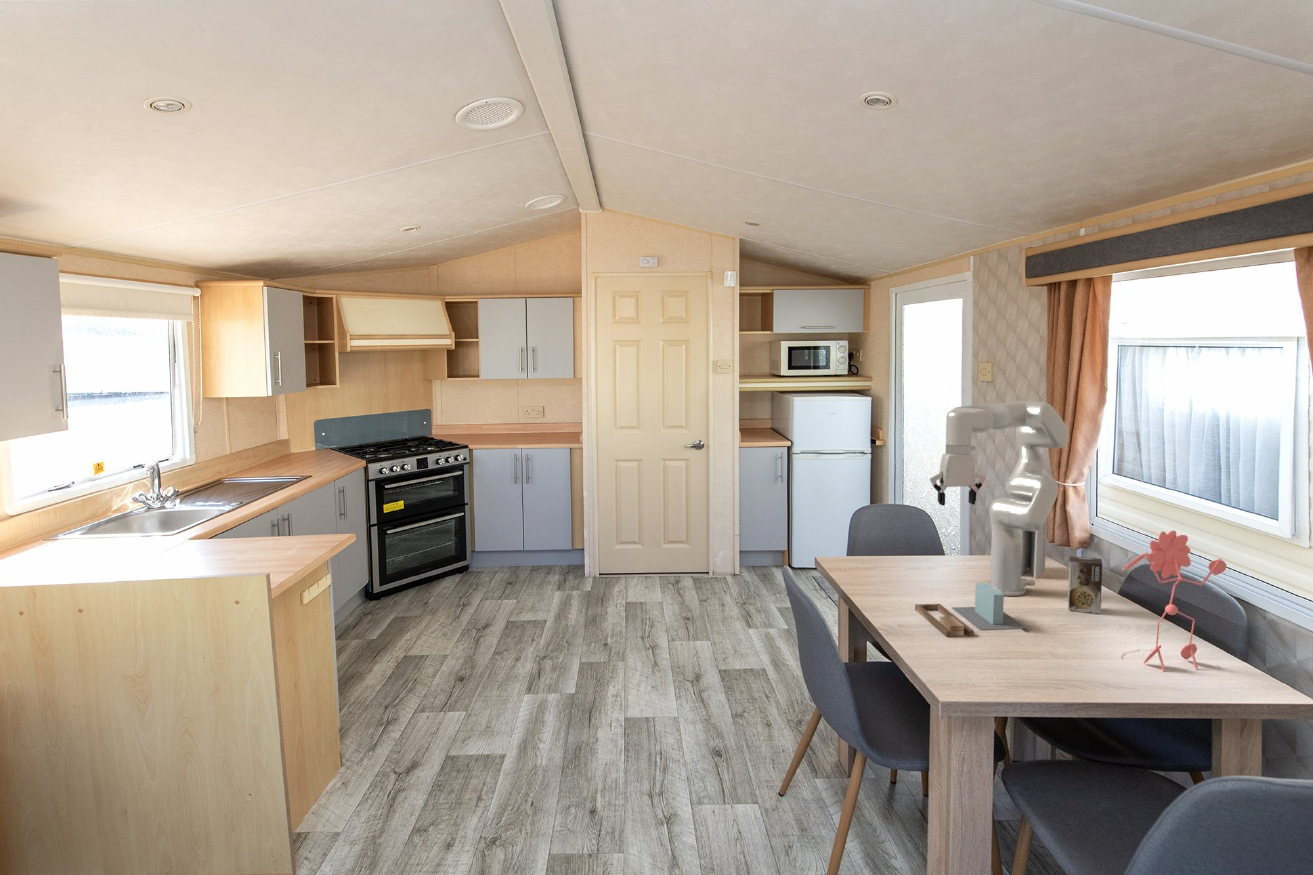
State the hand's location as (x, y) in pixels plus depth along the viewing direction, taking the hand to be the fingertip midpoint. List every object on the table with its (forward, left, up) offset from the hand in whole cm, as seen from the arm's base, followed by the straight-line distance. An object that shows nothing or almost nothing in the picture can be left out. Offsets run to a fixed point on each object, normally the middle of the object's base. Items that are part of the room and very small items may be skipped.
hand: (956, 504), depth 258 cm
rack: (+10, +16, -33) cm, 38 cm away
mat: (-5, +14, -33) cm, 36 cm away
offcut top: (+11, +24, -31) cm, 40 cm away
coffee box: (-39, +7, -33) cm, 52 cm away
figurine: (-36, +48, -33) cm, 68 cm away
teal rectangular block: (-5, +14, -32) cm, 35 cm away
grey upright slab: (-44, -34, -33) cm, 65 cm away
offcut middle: (+11, +24, -32) cm, 41 cm away
